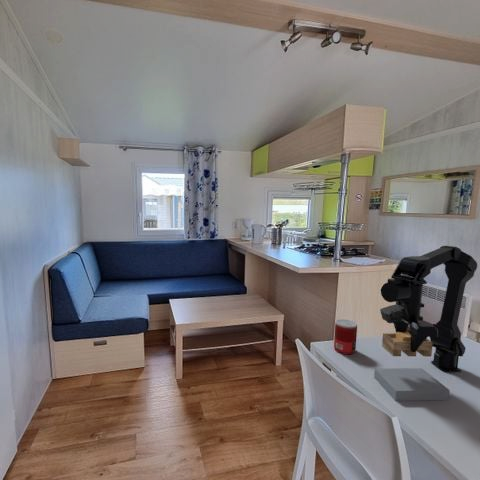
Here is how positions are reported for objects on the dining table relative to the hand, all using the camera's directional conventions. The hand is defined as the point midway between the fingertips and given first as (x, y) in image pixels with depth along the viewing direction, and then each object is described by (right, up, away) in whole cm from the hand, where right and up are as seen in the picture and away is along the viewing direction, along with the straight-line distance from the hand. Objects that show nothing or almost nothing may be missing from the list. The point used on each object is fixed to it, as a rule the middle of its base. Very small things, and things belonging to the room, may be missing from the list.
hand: (406, 346), depth 94 cm
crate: (0, +2, 0) cm, 2 cm away
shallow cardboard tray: (0, -2, 0) cm, 2 cm away
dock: (0, -12, -2) cm, 12 cm away
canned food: (-12, -9, +22) cm, 27 cm away
